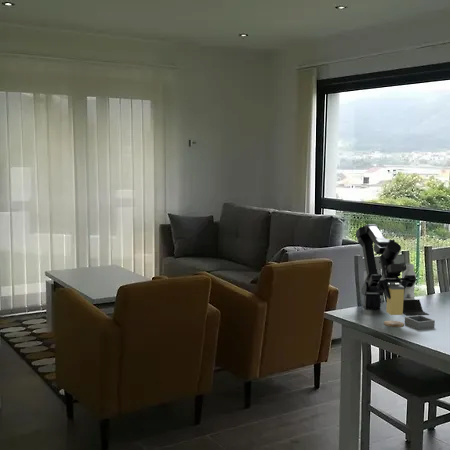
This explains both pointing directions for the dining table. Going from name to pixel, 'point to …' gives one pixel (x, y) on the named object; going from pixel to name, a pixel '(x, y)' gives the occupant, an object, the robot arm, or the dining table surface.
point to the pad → (393, 323)
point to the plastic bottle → (409, 290)
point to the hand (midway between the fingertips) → (396, 298)
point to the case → (419, 322)
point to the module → (395, 299)
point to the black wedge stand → (412, 308)
